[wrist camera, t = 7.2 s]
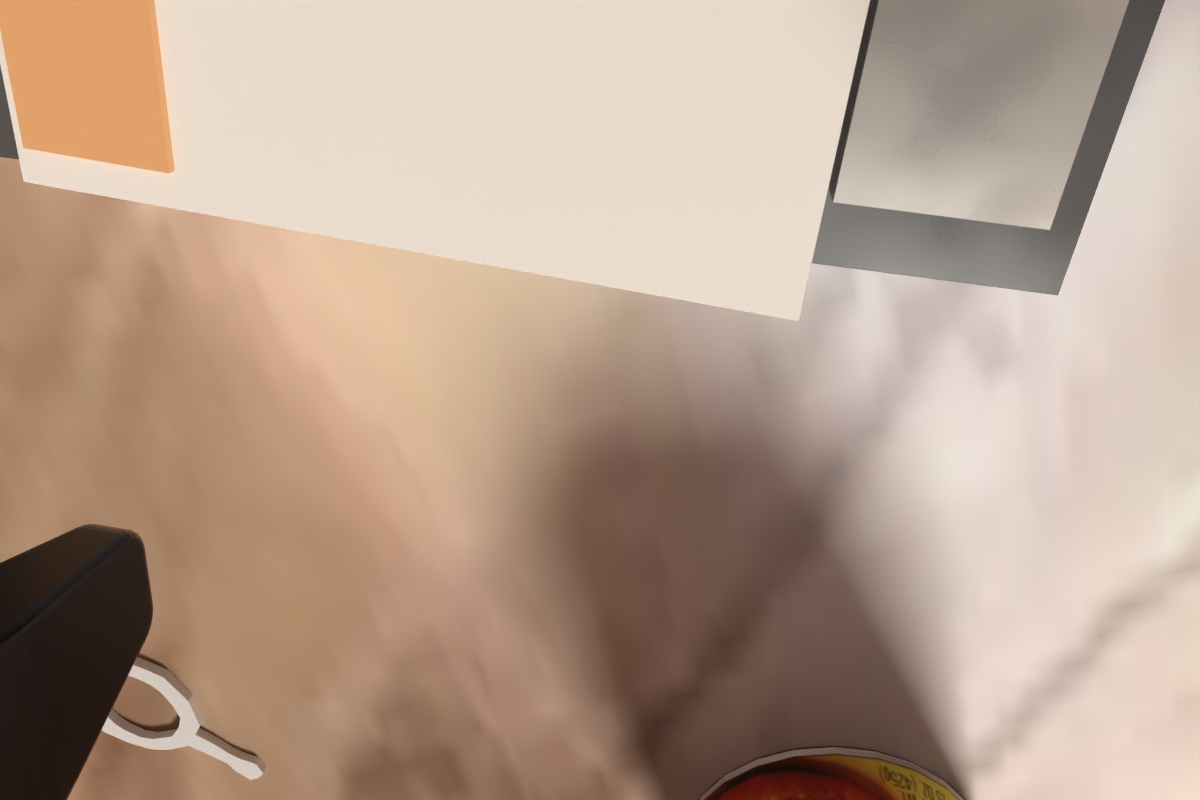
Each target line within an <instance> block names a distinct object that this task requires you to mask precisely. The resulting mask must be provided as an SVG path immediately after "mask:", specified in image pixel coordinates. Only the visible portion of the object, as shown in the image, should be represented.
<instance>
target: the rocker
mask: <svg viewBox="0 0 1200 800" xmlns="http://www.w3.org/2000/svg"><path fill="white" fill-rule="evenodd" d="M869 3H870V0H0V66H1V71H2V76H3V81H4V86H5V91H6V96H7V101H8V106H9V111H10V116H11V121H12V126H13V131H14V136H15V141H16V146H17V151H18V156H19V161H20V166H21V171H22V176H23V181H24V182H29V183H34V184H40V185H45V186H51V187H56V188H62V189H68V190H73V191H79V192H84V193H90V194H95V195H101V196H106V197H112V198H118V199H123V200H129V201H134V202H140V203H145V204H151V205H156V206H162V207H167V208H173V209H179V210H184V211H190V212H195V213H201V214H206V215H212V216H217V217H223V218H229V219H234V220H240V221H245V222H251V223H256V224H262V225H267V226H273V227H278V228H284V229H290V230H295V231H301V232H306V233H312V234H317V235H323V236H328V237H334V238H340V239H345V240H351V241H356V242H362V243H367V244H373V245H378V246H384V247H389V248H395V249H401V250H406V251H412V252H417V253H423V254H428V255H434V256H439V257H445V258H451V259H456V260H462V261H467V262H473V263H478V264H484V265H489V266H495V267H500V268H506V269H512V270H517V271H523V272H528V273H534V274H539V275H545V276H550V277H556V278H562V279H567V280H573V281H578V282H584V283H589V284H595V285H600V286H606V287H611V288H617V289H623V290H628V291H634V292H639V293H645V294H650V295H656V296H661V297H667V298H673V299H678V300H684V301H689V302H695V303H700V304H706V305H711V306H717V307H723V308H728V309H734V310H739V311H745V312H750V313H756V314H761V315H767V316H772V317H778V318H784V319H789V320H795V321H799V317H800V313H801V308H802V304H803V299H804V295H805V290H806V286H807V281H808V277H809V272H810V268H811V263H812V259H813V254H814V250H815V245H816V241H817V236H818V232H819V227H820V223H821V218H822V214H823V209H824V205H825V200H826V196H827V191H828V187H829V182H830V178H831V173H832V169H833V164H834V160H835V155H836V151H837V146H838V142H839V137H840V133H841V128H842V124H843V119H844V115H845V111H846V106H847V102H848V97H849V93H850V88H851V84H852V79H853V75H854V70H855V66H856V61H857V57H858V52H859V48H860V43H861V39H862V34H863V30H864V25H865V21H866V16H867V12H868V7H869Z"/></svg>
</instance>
